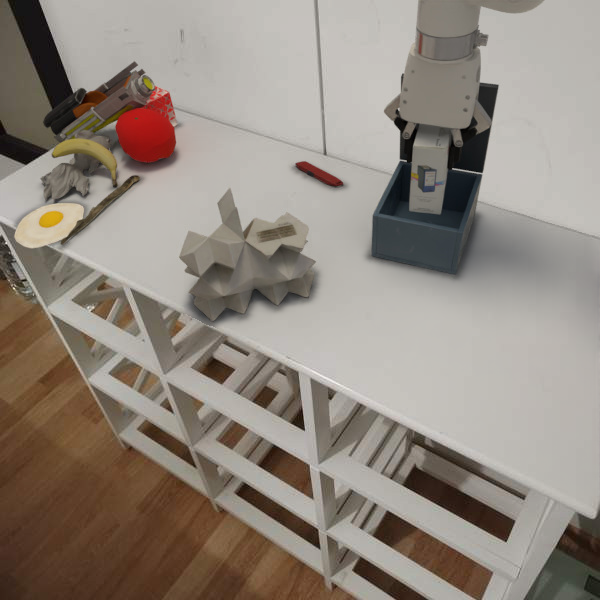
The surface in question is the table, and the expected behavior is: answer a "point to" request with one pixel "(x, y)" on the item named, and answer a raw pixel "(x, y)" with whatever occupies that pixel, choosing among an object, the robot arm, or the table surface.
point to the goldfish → (73, 170)
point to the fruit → (88, 153)
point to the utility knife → (318, 173)
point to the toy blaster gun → (100, 104)
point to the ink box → (429, 168)
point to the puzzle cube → (162, 104)
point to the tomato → (145, 135)
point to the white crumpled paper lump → (247, 261)
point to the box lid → (476, 146)
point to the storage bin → (425, 222)
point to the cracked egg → (48, 224)
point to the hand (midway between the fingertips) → (431, 160)
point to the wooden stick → (101, 206)
